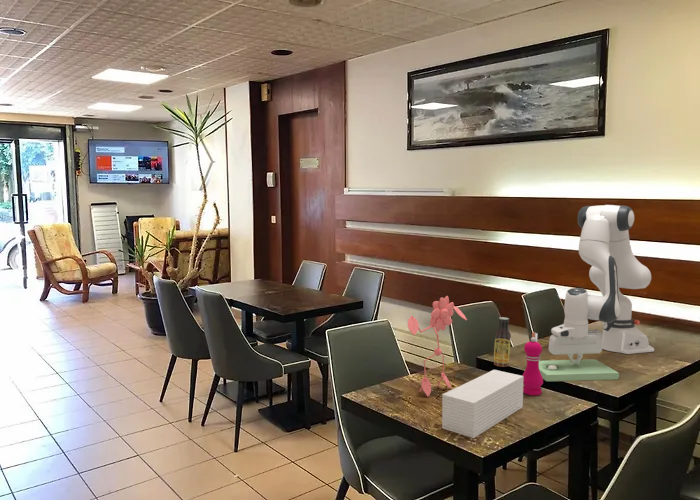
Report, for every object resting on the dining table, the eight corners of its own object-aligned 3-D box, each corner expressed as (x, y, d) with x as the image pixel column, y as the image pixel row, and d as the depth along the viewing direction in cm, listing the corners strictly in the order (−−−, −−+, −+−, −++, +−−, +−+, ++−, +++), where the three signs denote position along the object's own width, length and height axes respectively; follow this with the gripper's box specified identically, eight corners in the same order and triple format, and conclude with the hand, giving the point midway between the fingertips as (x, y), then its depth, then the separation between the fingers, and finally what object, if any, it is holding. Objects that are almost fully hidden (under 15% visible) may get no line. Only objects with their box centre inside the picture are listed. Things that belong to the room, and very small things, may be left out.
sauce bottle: (492, 366, 229) (493, 319, 227) (494, 362, 235) (495, 315, 233) (509, 368, 227) (510, 320, 225) (510, 364, 233) (511, 317, 231)
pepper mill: (544, 396, 195) (545, 340, 193) (522, 395, 197) (523, 339, 195) (541, 389, 202) (542, 335, 200) (520, 388, 204) (521, 334, 202)
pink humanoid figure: (400, 396, 196) (402, 297, 192) (450, 381, 212) (453, 289, 208) (432, 410, 184) (435, 305, 180) (483, 393, 200) (486, 296, 196)
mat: (593, 363, 232) (594, 329, 231) (618, 379, 213) (620, 341, 211) (526, 365, 230) (527, 331, 229) (546, 381, 211) (547, 343, 210)
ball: (550, 363, 222) (544, 368, 222) (554, 362, 219) (548, 368, 218) (556, 370, 222) (550, 375, 221) (560, 369, 219) (554, 375, 218)
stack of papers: (493, 400, 193) (494, 369, 192) (522, 407, 186) (523, 376, 185) (442, 428, 170) (442, 394, 169) (473, 439, 163) (473, 402, 161)
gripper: (597, 327, 223) (596, 361, 225) (547, 328, 222) (546, 362, 224) (605, 331, 217) (604, 366, 219) (554, 332, 216) (553, 367, 217)
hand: (574, 364), depth 221 cm, fingers closed
